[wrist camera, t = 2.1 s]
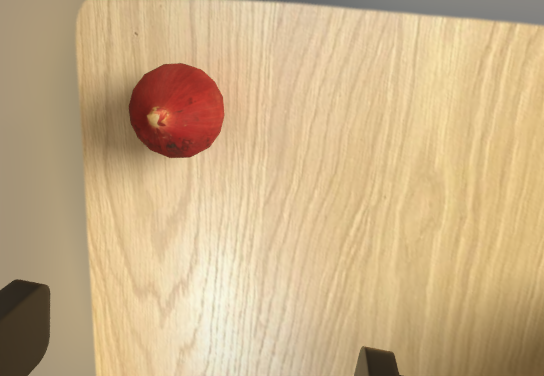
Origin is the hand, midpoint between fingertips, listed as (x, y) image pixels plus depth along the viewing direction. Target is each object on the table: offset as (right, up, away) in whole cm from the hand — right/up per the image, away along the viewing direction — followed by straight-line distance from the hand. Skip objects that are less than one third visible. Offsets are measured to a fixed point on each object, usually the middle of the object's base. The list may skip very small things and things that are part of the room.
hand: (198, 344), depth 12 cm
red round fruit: (-4, +10, +21) cm, 24 cm away
